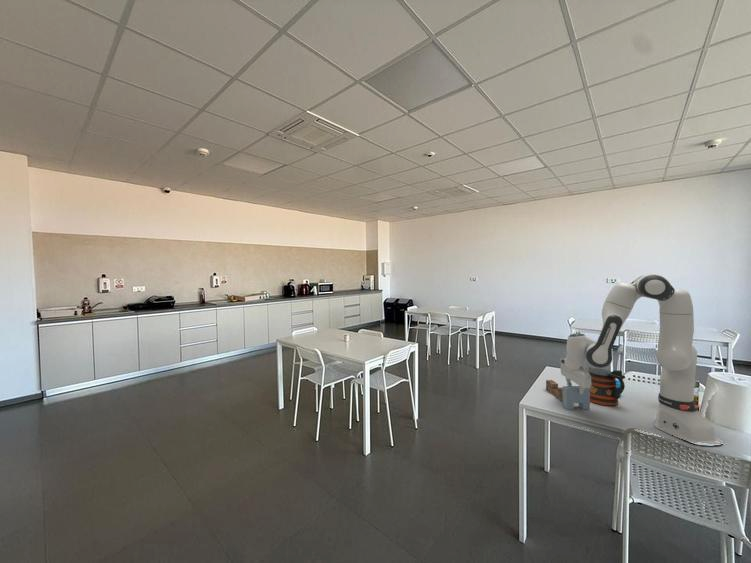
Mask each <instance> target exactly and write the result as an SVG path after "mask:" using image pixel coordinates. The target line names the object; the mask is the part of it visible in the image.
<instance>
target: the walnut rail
mask: <svg viewBox="0 0 751 563" xmlns="http://www.w3.org/2000/svg"><path fill="white" fill-rule="evenodd" d="M545 390H546V391H547V392H548V391H549V393H550V394H551V395H552V396H554V397H555V396H556V398H557V399H560V401H561V402H562V403H563V386H561V387H560V386H559V383H557V382H556V381H554V379H553V380H552V379H546V380H545Z"/></svg>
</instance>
